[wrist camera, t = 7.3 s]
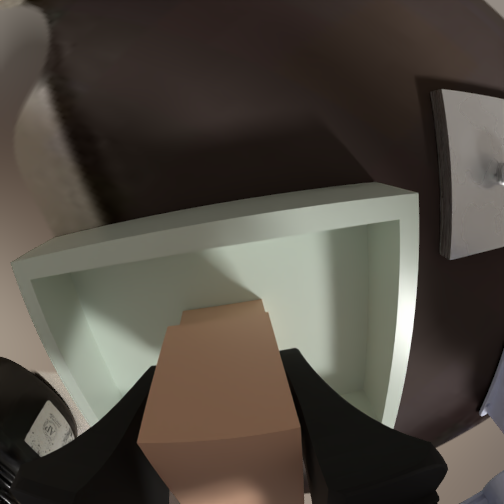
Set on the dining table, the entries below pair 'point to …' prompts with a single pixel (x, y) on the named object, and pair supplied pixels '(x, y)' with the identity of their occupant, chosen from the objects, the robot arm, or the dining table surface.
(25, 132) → the dining table surface
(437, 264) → the dining table surface
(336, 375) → the parts bin
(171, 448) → the light orange block
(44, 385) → the ink bottle
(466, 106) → the stud plate
